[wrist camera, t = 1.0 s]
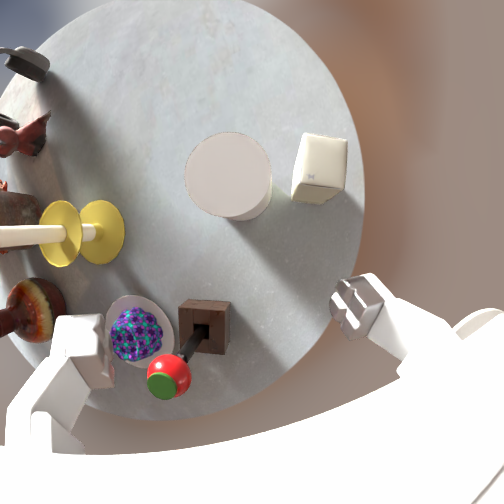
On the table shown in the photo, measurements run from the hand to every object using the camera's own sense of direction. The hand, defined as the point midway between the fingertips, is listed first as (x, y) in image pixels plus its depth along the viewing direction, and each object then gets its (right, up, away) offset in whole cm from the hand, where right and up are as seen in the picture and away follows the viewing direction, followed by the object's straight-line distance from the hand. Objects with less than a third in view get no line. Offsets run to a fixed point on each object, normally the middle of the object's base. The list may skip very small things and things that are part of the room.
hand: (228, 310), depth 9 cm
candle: (-23, +5, +31) cm, 39 cm away
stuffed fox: (-39, +23, +31) cm, 55 cm away
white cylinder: (-1, +10, +29) cm, 30 cm away
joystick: (-5, -8, +30) cm, 32 cm away
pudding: (-16, -10, +32) cm, 37 cm away
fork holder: (-5, -8, +30) cm, 32 cm away
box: (+8, +11, +28) cm, 31 cm away
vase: (-35, -8, +33) cm, 49 cm away
